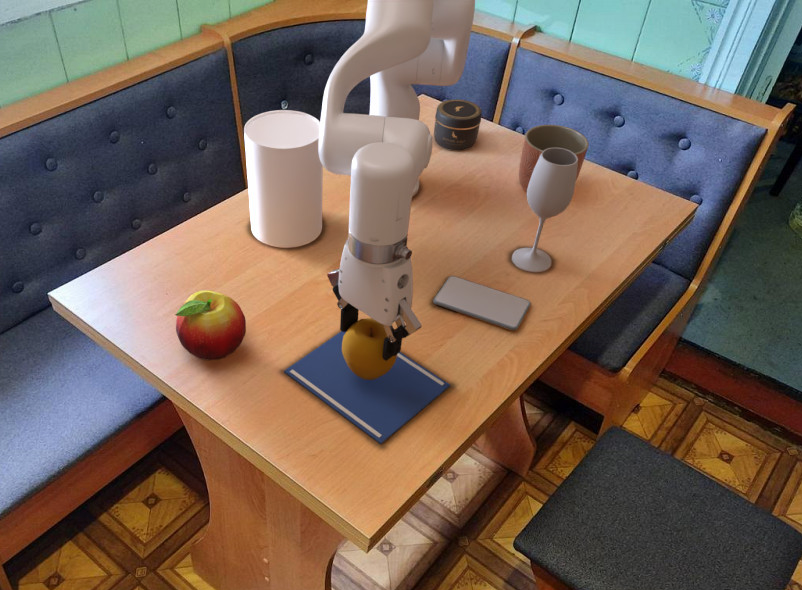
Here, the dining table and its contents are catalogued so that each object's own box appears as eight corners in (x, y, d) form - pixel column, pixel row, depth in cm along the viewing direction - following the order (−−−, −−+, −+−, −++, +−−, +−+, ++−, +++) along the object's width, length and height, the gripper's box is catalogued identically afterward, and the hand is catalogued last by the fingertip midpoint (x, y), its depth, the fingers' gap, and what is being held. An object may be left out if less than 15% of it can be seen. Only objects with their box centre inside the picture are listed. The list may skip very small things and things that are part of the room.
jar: (430, 149, 161) (434, 117, 155) (434, 128, 168) (438, 96, 162) (475, 154, 160) (481, 121, 154) (477, 133, 167) (483, 100, 161)
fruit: (259, 354, 114) (256, 306, 107) (196, 380, 110) (188, 331, 103) (229, 315, 121) (223, 267, 113) (168, 338, 116) (158, 290, 109)
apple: (367, 343, 115) (371, 299, 108) (408, 371, 110) (414, 327, 104) (329, 369, 110) (330, 325, 104) (369, 399, 106) (374, 355, 100)
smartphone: (450, 274, 129) (532, 300, 124) (449, 278, 129) (531, 304, 124) (431, 300, 123) (516, 329, 119) (431, 304, 124) (515, 333, 119)
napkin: (283, 372, 112) (283, 370, 112) (354, 323, 120) (354, 321, 120) (380, 444, 103) (381, 442, 102) (450, 386, 111) (450, 384, 110)
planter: (517, 168, 156) (528, 120, 148) (576, 177, 154) (590, 129, 146) (511, 198, 148) (522, 149, 140) (572, 209, 146) (587, 159, 138)
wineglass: (552, 275, 131) (584, 171, 115) (509, 269, 131) (535, 165, 116) (552, 251, 136) (582, 148, 121) (511, 245, 137) (536, 142, 121)
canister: (280, 256, 132) (276, 157, 118) (237, 223, 139) (228, 125, 125) (336, 229, 139) (339, 131, 124) (292, 199, 145) (290, 103, 131)
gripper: (449, 258, 91) (432, 358, 103) (348, 202, 99) (344, 301, 112) (410, 284, 87) (398, 385, 100) (308, 224, 95) (309, 324, 108)
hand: (369, 340), depth 105 cm, fingers closed on apple, 7 cm apart
